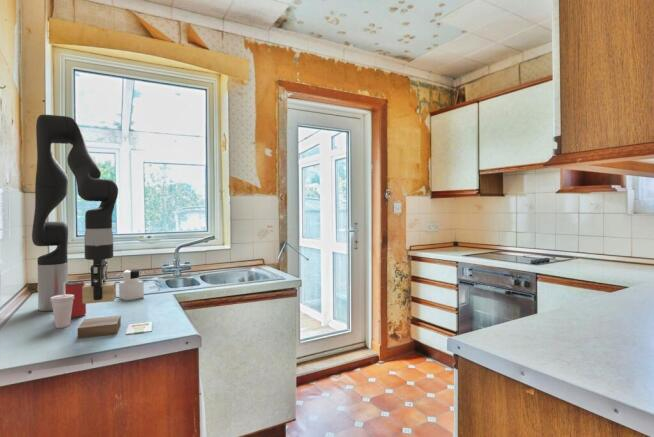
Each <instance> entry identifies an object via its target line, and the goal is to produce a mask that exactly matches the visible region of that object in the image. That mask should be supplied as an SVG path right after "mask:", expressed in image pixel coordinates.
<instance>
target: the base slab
mask: <svg viewBox="0 0 654 437" xmlns="http://www.w3.org/2000/svg"><path fill="white" fill-rule="evenodd" d="M121 322H122V317H121V315H111V316H104V317H94V318H84V319H83V320H82V322H81V323H80V324H79V325H78V327H77V339H84V338H92V337H100V336H110V335H112V336H113V335H117V334H118V332H119V330H120V327H121V325H122V323H121Z"/></svg>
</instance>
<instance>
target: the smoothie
mask: <svg viewBox="0 0 654 437" xmlns="http://www.w3.org/2000/svg"><path fill="white" fill-rule="evenodd" d="M73 299H74V295H73V294H66V292H65V283H63V295H57V296H53V297H51V298H50V301H52V307H53V310H52V312H53V318H54V322H55V323H54V324H55V328H58V329H61V328H62V329H63V328H68V327H70V326H71V322H72V321H71V319H72V318H71V313H72V305H73Z"/></svg>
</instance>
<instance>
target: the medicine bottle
mask: <svg viewBox="0 0 654 437" xmlns="http://www.w3.org/2000/svg"><path fill="white" fill-rule="evenodd" d="M122 278H123V279H122V280H123V281H121V280H120V281H119V282H118V291H119V292H118V296H119V297H118V298H119V299H121V300H125V301H132V300H137V299H142V298H144V296H145V294H144V288H145V285H144V284H145V283H144V280H141V279H140V271H139V269H126V270H124V271H123V273H122Z"/></svg>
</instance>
